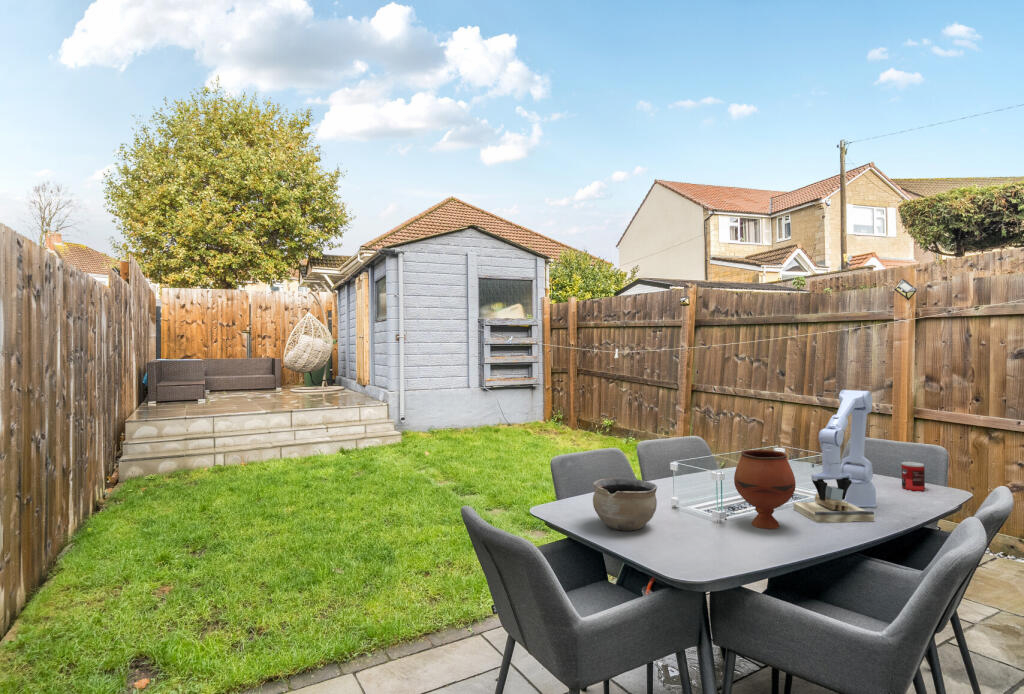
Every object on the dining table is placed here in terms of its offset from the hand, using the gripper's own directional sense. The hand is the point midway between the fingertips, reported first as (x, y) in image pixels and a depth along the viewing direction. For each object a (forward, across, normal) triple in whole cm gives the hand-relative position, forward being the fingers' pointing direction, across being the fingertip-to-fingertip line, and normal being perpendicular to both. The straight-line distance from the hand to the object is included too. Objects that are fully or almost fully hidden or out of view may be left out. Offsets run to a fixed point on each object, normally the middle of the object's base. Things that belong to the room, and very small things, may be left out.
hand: (832, 499), depth 201 cm
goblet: (+6, +30, +6) cm, 31 cm away
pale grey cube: (0, 0, 0) cm, 1 cm away
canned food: (+6, -58, -27) cm, 64 cm away
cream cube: (0, -1, -4) cm, 4 cm away
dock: (+6, 0, 0) cm, 6 cm away
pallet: (+3, 0, -1) cm, 3 cm away
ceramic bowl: (+6, +78, -1) cm, 78 cm away
